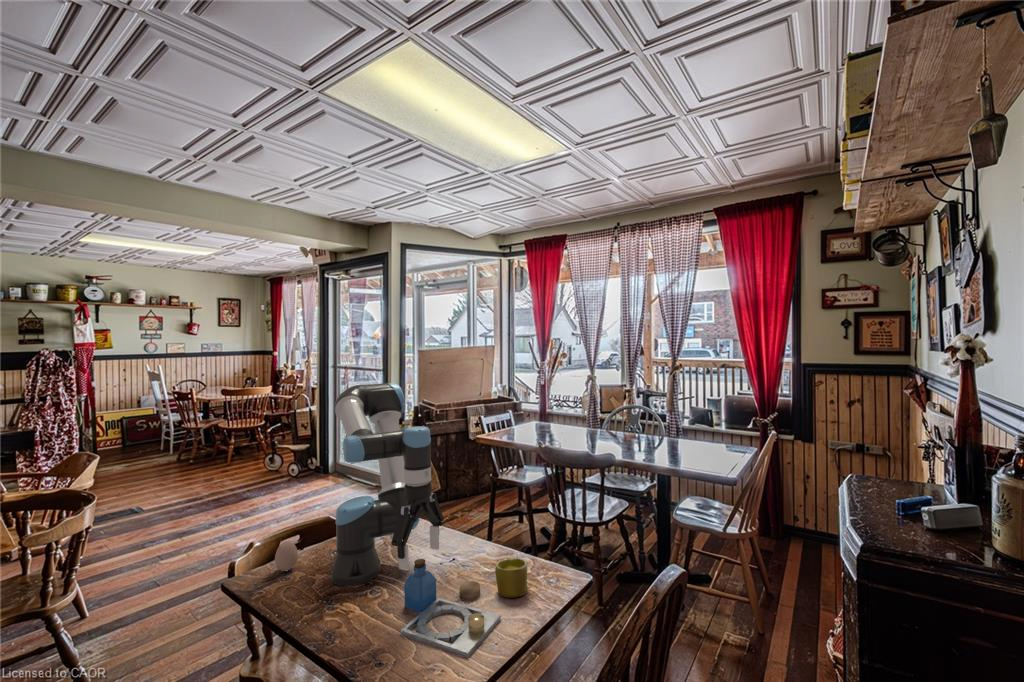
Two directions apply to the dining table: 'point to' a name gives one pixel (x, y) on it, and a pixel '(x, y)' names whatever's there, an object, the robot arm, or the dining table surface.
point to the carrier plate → (466, 636)
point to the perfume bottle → (420, 588)
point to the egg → (286, 556)
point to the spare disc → (469, 590)
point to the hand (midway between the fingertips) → (420, 558)
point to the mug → (511, 577)
